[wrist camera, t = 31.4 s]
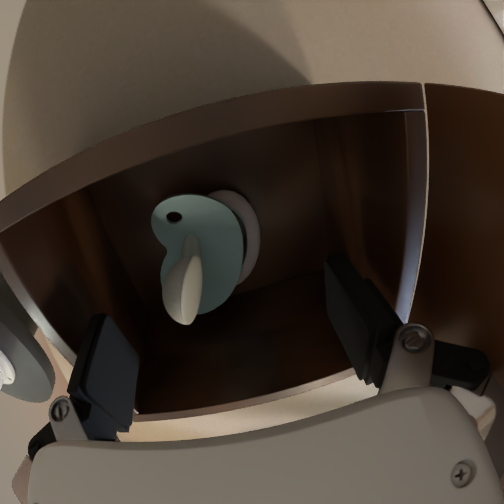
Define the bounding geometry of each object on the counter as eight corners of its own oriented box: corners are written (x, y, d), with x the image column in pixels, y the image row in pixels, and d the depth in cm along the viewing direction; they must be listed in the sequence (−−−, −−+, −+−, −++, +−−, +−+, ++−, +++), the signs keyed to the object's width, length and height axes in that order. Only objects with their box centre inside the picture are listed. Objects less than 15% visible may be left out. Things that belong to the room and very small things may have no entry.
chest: (147, 317, 20) (134, 422, 12) (70, 159, 13) (-26, 221, 5) (336, 267, 20) (396, 357, 12) (314, 86, 13) (422, 82, 6)
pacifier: (260, 178, 15) (151, 184, 14) (299, 225, 10) (125, 236, 8) (256, 285, 19) (167, 292, 17) (280, 357, 13) (162, 369, 12)
